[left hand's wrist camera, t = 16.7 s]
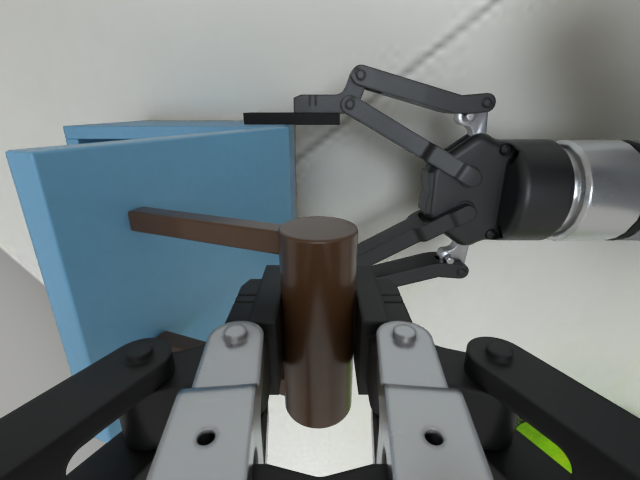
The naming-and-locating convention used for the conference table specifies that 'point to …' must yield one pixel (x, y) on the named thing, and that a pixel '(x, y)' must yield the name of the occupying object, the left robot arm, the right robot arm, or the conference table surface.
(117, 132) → the chest
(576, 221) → the right robot arm
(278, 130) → the blue box lid
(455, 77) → the conference table surface
